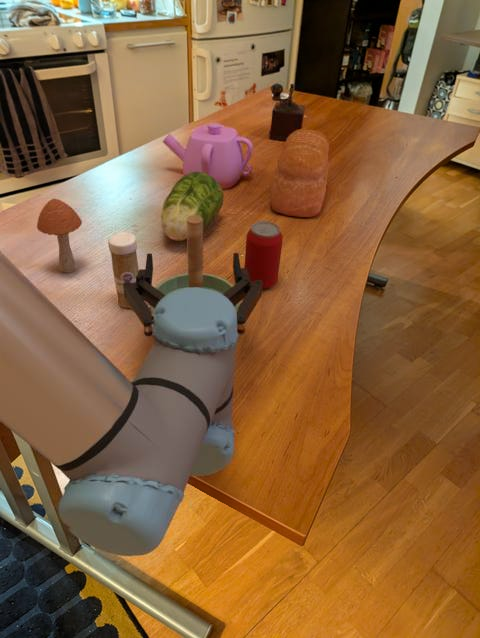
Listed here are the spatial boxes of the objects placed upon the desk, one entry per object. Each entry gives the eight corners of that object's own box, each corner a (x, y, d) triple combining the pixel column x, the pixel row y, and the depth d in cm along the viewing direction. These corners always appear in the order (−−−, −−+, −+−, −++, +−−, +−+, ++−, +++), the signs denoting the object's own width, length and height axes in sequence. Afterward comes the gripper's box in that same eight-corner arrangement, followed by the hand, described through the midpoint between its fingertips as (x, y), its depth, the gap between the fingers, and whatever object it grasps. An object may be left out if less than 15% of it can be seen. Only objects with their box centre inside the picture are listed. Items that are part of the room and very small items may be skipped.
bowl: (149, 357, 74) (146, 329, 71) (154, 299, 86) (152, 272, 82) (242, 355, 76) (244, 327, 72) (235, 298, 87) (236, 272, 84)
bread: (266, 214, 114) (272, 153, 104) (280, 173, 134) (286, 119, 124) (320, 222, 112) (331, 161, 102) (327, 179, 132) (337, 125, 122)
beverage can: (282, 279, 93) (290, 226, 85) (267, 295, 89) (273, 241, 81) (253, 268, 96) (258, 216, 88) (237, 284, 91) (240, 230, 83)
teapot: (259, 184, 127) (263, 130, 118) (191, 197, 119) (190, 141, 109) (226, 159, 140) (227, 109, 130) (162, 170, 131) (158, 118, 122)
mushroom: (79, 253, 96) (65, 185, 87) (97, 271, 92) (84, 201, 82) (42, 265, 92) (23, 196, 83) (58, 284, 88) (40, 213, 78)
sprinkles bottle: (122, 312, 83) (113, 247, 74) (114, 298, 86) (103, 234, 77) (146, 304, 85) (140, 241, 76) (137, 291, 88) (129, 228, 79)
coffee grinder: (271, 129, 163) (276, 73, 151) (302, 132, 162) (309, 76, 150) (264, 144, 151) (269, 84, 140) (298, 148, 150) (306, 88, 138)
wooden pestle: (183, 330, 79) (179, 226, 66) (183, 314, 82) (179, 211, 69) (209, 330, 79) (210, 226, 66) (208, 313, 82) (209, 212, 69)
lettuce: (148, 249, 99) (144, 200, 92) (181, 207, 114) (180, 163, 107) (199, 258, 97) (199, 210, 90) (226, 215, 113) (227, 170, 105)
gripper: (97, 377, 59) (116, 280, 75) (289, 371, 61) (268, 278, 77) (88, 334, 54) (110, 240, 70) (297, 329, 56) (272, 239, 72)
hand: (193, 260), depth 74 cm, fingers open, 13 cm apart
